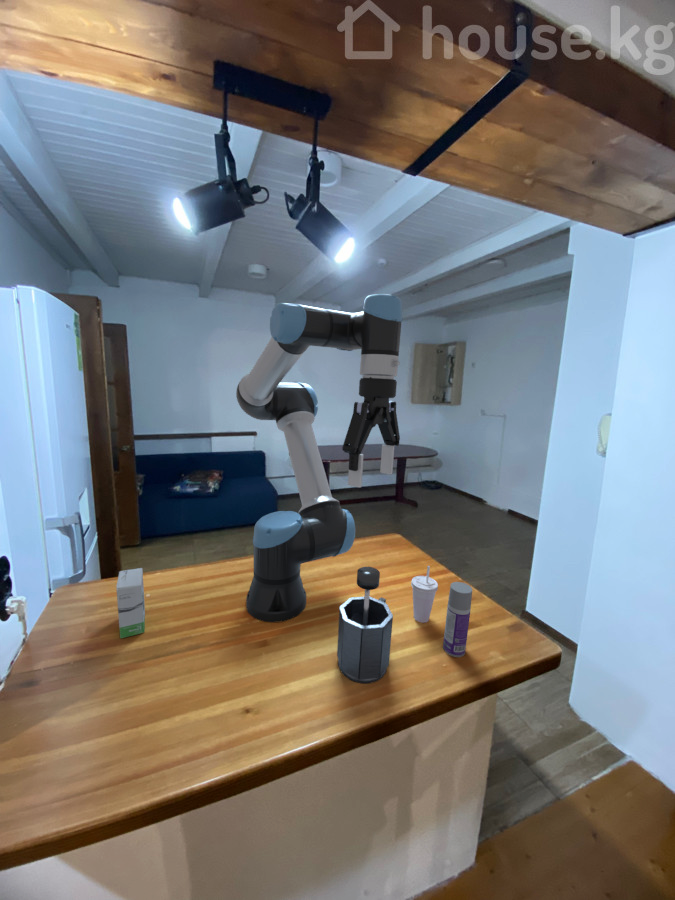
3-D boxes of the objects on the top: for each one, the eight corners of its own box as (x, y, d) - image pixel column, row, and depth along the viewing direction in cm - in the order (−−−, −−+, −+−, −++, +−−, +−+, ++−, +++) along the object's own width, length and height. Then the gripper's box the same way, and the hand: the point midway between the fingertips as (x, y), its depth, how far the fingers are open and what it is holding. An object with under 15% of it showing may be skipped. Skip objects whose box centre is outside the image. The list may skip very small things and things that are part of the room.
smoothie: (435, 628, 87) (440, 574, 84) (407, 623, 88) (412, 570, 86) (433, 612, 93) (439, 561, 91) (408, 608, 94) (412, 558, 92)
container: (466, 646, 82) (473, 585, 79) (463, 660, 77) (472, 596, 75) (444, 639, 83) (451, 579, 81) (441, 652, 79) (448, 589, 76)
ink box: (144, 633, 81) (142, 584, 79) (119, 639, 79) (115, 589, 76) (145, 611, 88) (142, 566, 86) (121, 616, 86) (118, 570, 84)
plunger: (338, 652, 73) (343, 573, 70) (357, 632, 79) (362, 559, 76) (370, 668, 69) (376, 586, 66) (387, 647, 75) (393, 570, 72)
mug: (328, 667, 74) (331, 613, 71) (360, 633, 84) (363, 586, 82) (371, 692, 68) (376, 635, 66) (400, 652, 79) (405, 602, 76)
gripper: (362, 375, 61) (355, 496, 65) (419, 380, 82) (411, 472, 86) (326, 374, 65) (322, 488, 69) (389, 378, 86) (383, 466, 90)
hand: (371, 479), depth 77 cm, fingers open, 13 cm apart
